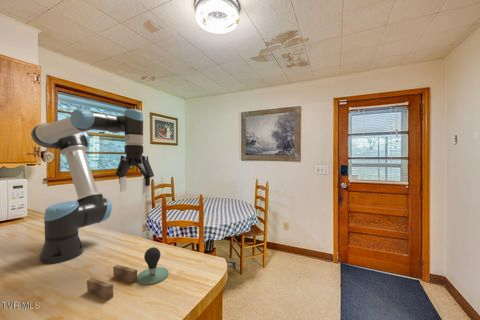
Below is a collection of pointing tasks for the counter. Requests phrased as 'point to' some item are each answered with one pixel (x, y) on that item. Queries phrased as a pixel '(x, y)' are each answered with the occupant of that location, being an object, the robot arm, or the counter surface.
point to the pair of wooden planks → (105, 288)
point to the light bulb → (152, 259)
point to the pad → (152, 276)
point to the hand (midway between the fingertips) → (134, 192)
